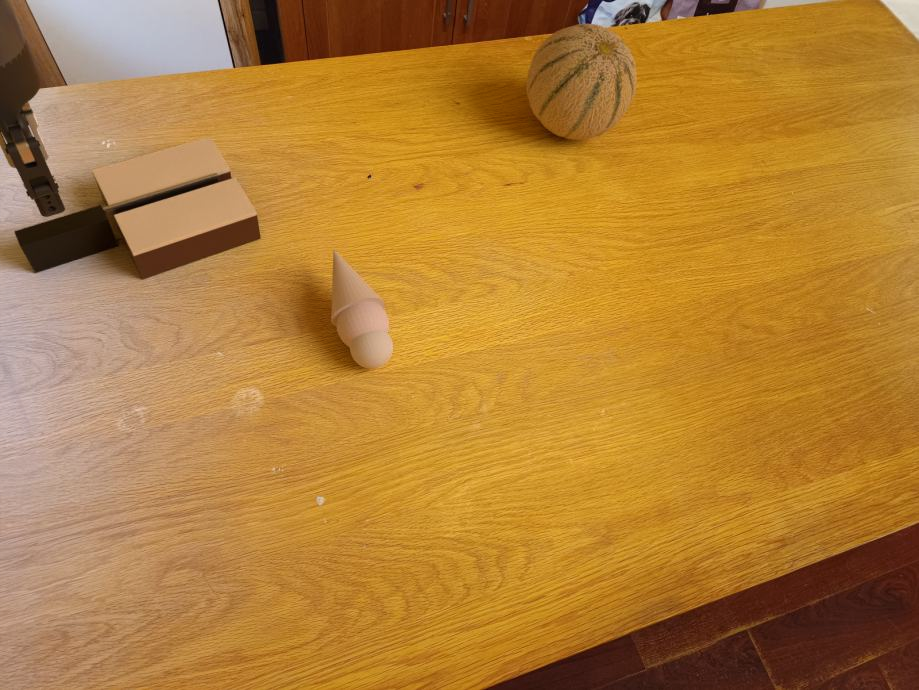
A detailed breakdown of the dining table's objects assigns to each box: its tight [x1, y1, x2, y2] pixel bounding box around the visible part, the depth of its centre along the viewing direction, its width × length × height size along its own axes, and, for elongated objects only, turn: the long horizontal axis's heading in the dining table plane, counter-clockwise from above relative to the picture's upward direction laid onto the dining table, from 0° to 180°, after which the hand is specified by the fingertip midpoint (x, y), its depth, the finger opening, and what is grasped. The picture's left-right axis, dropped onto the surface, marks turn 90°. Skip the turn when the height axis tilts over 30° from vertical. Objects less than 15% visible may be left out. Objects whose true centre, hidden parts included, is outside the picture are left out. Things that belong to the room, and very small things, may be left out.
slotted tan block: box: [91, 136, 261, 280], centre depth 86 cm, size 14×14×4 cm
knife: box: [13, 173, 219, 274], centre depth 84 cm, size 22×2×5 cm, turn 122°
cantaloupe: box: [525, 23, 638, 142], centre depth 100 cm, size 15×15×15 cm
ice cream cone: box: [330, 248, 394, 370], centre depth 80 cm, size 6×6×15 cm
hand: (41, 184), depth 75 cm, fingers open, 8 cm apart
